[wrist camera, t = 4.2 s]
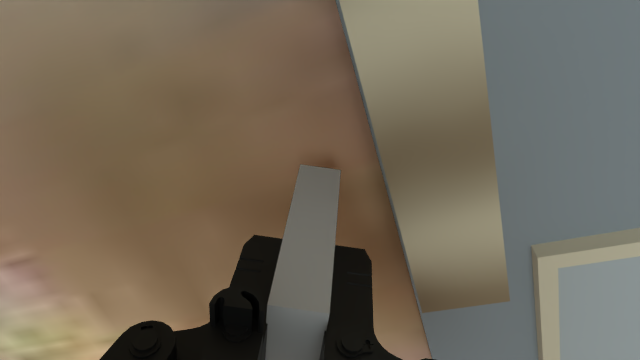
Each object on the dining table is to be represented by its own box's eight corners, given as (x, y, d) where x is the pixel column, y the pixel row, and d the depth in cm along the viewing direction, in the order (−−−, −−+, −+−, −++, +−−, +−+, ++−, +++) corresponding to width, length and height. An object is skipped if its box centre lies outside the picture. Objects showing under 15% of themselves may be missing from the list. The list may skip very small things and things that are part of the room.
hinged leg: (313, -150, 12) (278, -187, 7) (424, -195, 11) (474, -272, 6) (411, 239, 19) (428, 357, 14) (482, 227, 18) (527, 347, 13)
